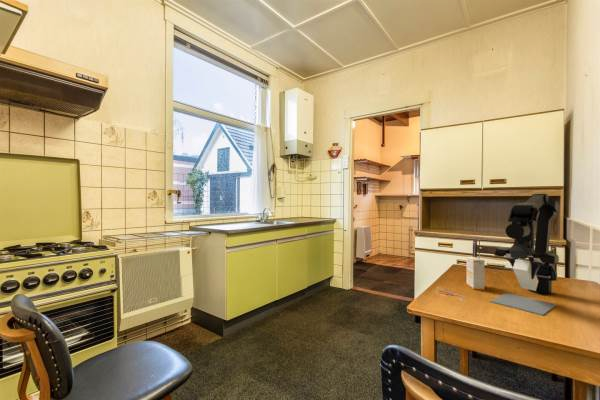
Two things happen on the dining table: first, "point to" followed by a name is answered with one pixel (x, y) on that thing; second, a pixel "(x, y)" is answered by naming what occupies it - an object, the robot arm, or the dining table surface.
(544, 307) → the mat
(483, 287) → the supplement box
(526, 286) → the block
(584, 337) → the dining table surface
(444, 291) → the key chain
